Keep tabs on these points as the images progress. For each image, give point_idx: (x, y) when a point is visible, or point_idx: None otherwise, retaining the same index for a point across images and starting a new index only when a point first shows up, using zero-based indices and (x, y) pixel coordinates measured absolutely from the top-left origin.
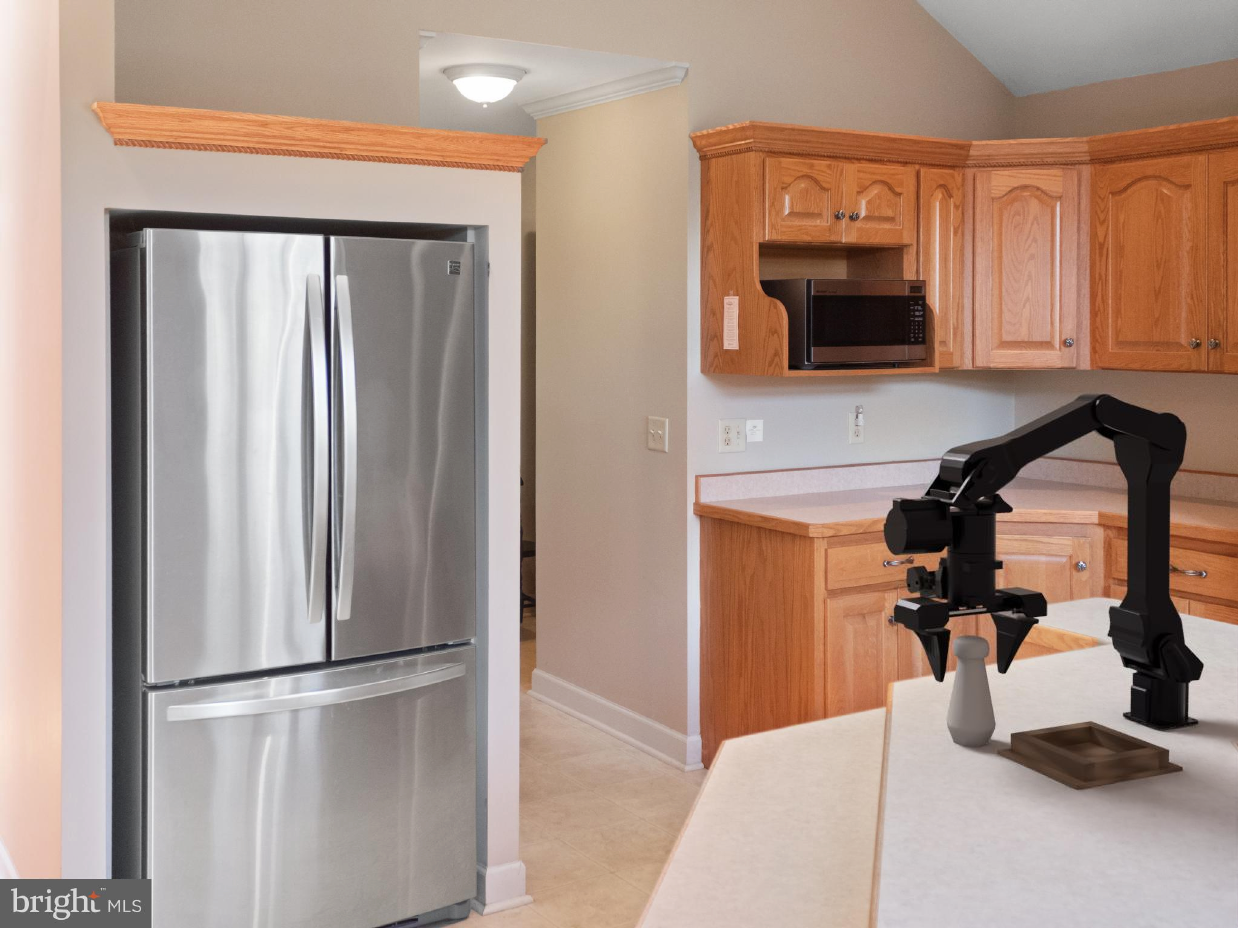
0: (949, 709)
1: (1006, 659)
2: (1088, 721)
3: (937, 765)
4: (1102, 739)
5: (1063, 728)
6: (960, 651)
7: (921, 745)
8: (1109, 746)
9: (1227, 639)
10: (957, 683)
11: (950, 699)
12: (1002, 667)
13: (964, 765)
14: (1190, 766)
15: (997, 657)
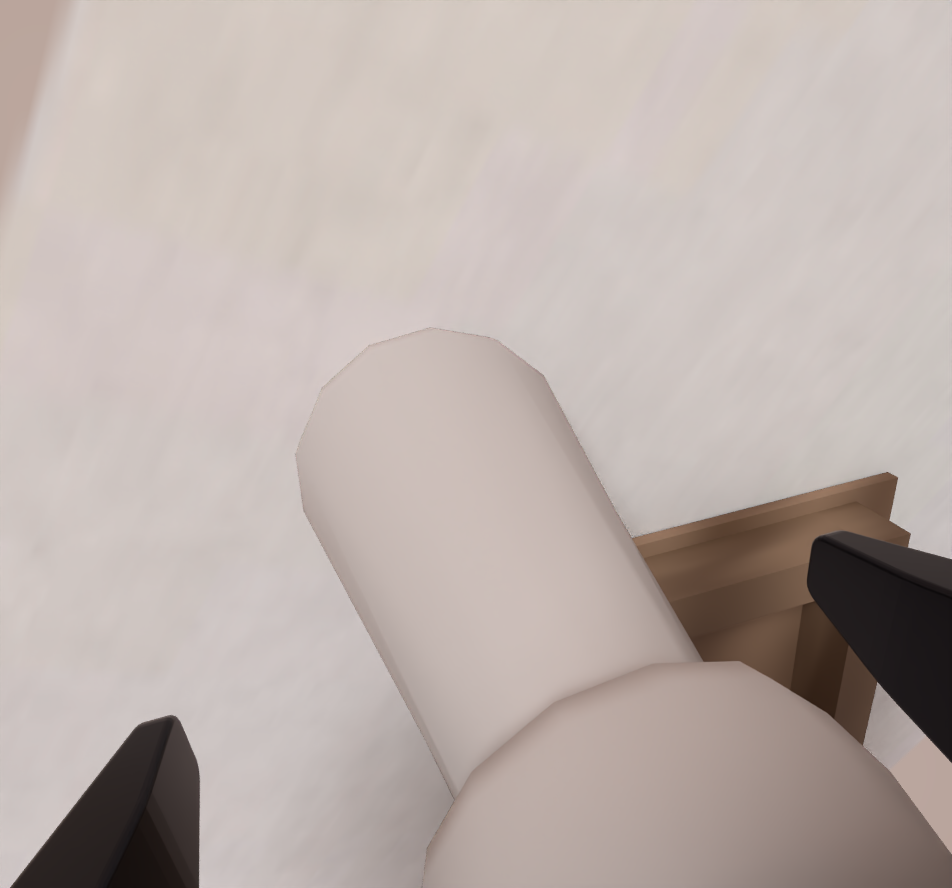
0: (315, 492)
1: (909, 710)
2: (898, 536)
3: (108, 691)
4: (822, 617)
5: (755, 605)
6: None
7: (127, 430)
8: (807, 633)
9: None
10: (381, 647)
11: (351, 475)
12: (845, 615)
13: (235, 695)
14: (872, 722)
15: (928, 600)
